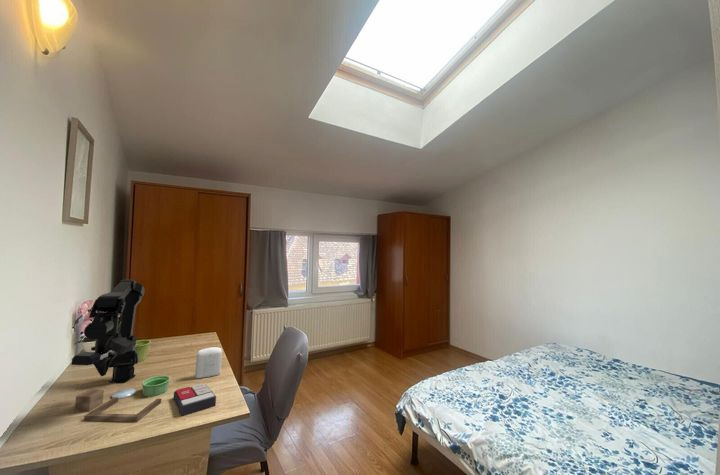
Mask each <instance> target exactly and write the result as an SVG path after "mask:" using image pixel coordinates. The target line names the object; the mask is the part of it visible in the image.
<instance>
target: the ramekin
mask: <svg viewBox="0 0 720 475" xmlns="http://www.w3.org/2000/svg"><path fill="white" fill-rule="evenodd" d="M170 380H171V377H170V376H169V375H156V376H151V377H149V378H147V379H145V380H143V381H142V384H141V386H142V394H143V396H145V397H155V396H159V395H162V394H165V393H166V392H167V391H168V388H169V383H170Z"/></svg>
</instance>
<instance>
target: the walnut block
mask: <svg viewBox="0 0 720 475" xmlns="http://www.w3.org/2000/svg"><path fill="white" fill-rule="evenodd" d="M104 391H105V390H104V389H95V388H93V389H91V388H89V389H87V390H85V391H84V392H82V393H79V394H77V395H76V396H75V402H74V403H75V404H74V412H87V413H90V412H91V411H93V410H95V409H96V408H98V407H99V406H101V405H103V404H104V402H103V401H104Z"/></svg>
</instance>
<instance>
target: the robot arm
mask: <svg viewBox="0 0 720 475" xmlns="http://www.w3.org/2000/svg"><path fill="white" fill-rule="evenodd" d="M145 289H146V288H145V287H144V285H143V284H142V283H138V282H137V281H136V280H134V279H122V280H119V282H118V284H117V285H116V286H115V287H114V288H112V290H111V291H109V292H107V293H103V294H101V295H99V296H98V297H97V299H95V300H94V303H93V305H92V306H91V307H92V308H91V310H90V313H89V316H88V318H89V319H92V318H93V319H92V322H90V323H88V324H87V325H86V326H85V328H84V330H83V335H84V336H85V337H86V338H87V339H89V340H94V341H95V342H94V346H91V347H90V351H84V352H81V353H77V354H76V355H74V356H73V357H72V358H71V363H70V364H71V366H92V365H93V366H94V367H95V369H96V371H97V372H98V374H99V375H100V376H101V377H103V376H106V375H107V372H108V371H109V369H110V368H112V378H111V379H109V381H108V383H122V384H123V383H126V382H128V381H130V380H131V379H133V378H135V377H136V376H137V375H136V374H135V365H137V364H138V363H139V362H138V354H137V351H136V350H135V349H136V346H135V345H136V341H137V336H136V335H135V334H134V327H135V320H136V311H137V306H138V305H139V304H140V303H141V302H142V301H143V300H142V299H143V297H144V295H145V292H146V290H145ZM120 315H121V320H119V318H120ZM119 321H120V325H119ZM119 326H120V327H119ZM118 328H119V330H118Z"/></svg>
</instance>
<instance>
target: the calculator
mask: <svg viewBox="0 0 720 475" xmlns="http://www.w3.org/2000/svg"><path fill="white" fill-rule="evenodd" d="M173 402H174V403H175V406H176V408H177V410H178V413H179V415H180V417H186V416H189V415H192V414H194V413H198V412H200V411H205V410H207V409H211V408H214V407H216V402H217V396H216V395H215V393H214V392H213V391H212V390H211V388H210V387H209V386H208V384H206V382H202V383H198V384H195V385H191V386H187V387H186V386H185V387H183V388H178V389H176V390H175V391H174V392H173Z"/></svg>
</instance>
